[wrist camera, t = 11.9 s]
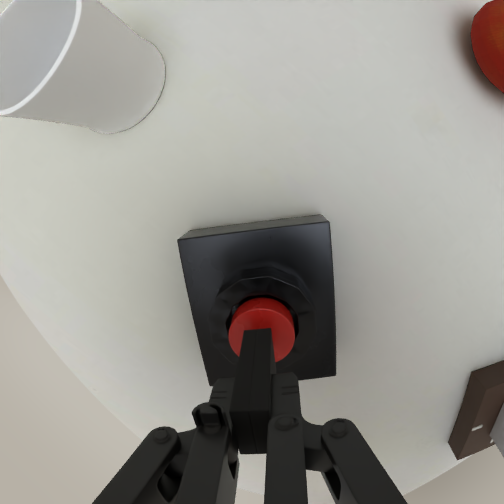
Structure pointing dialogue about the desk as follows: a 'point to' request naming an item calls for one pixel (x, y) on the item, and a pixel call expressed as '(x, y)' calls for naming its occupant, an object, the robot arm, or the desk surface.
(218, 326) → the button block
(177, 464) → the robot arm
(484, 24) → the fruit
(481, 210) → the desk surface
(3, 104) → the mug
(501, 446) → the dial
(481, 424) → the dial panel
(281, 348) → the power button
